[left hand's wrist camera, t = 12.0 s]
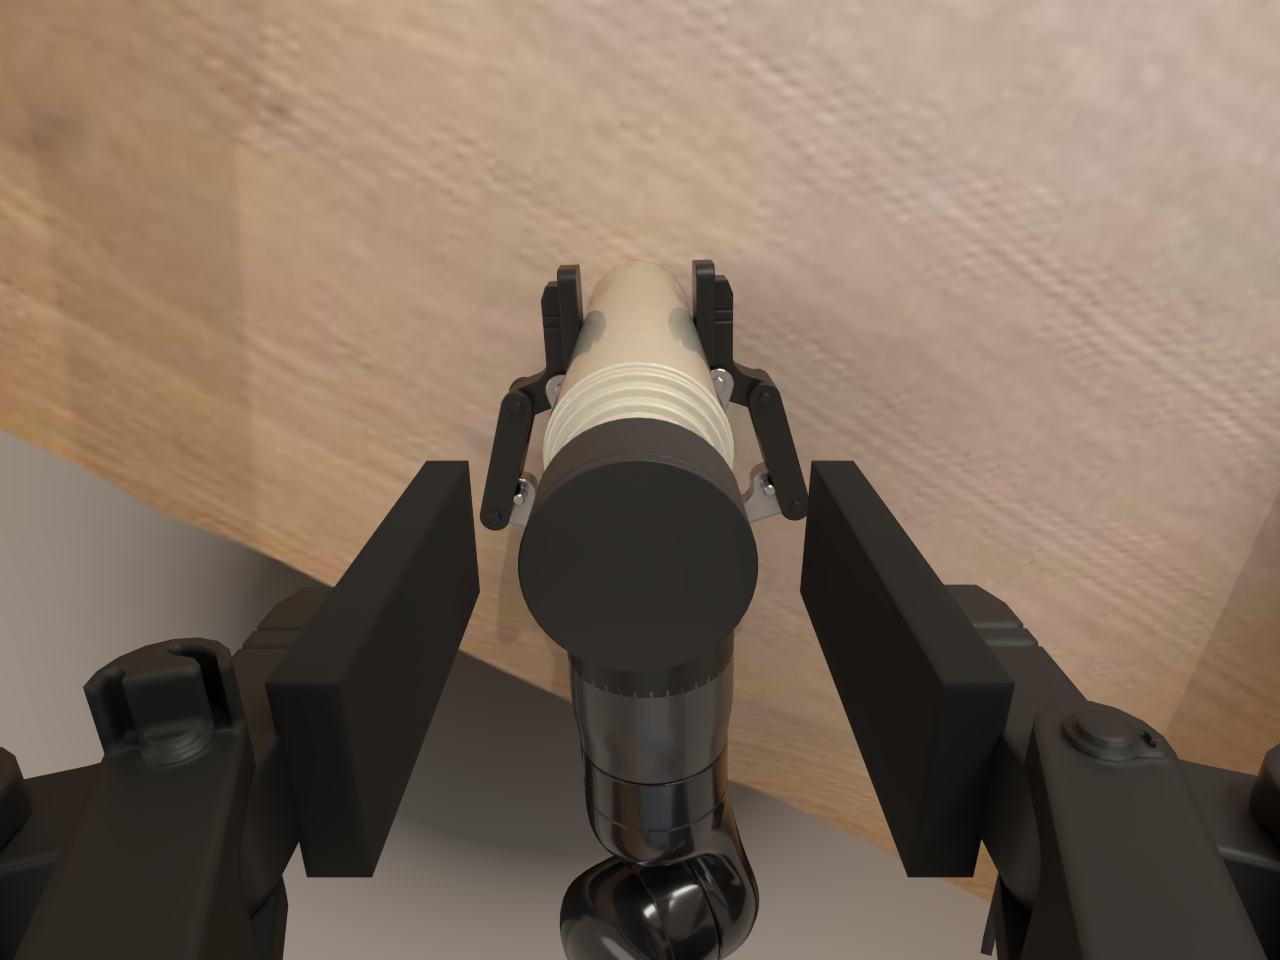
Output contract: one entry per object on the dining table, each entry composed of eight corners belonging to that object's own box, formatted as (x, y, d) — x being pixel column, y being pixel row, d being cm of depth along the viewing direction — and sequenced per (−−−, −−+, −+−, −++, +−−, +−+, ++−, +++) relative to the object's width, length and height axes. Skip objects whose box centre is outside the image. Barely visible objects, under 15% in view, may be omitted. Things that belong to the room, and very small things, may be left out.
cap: (544, 402, 14) (527, 445, 12) (759, 430, 14) (779, 476, 12) (527, 592, 15) (509, 659, 13) (722, 614, 16) (735, 684, 14)
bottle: (596, 255, 35) (517, 421, 12) (693, 268, 35) (792, 455, 12) (586, 350, 37) (499, 655, 14) (678, 362, 37) (742, 682, 14)
